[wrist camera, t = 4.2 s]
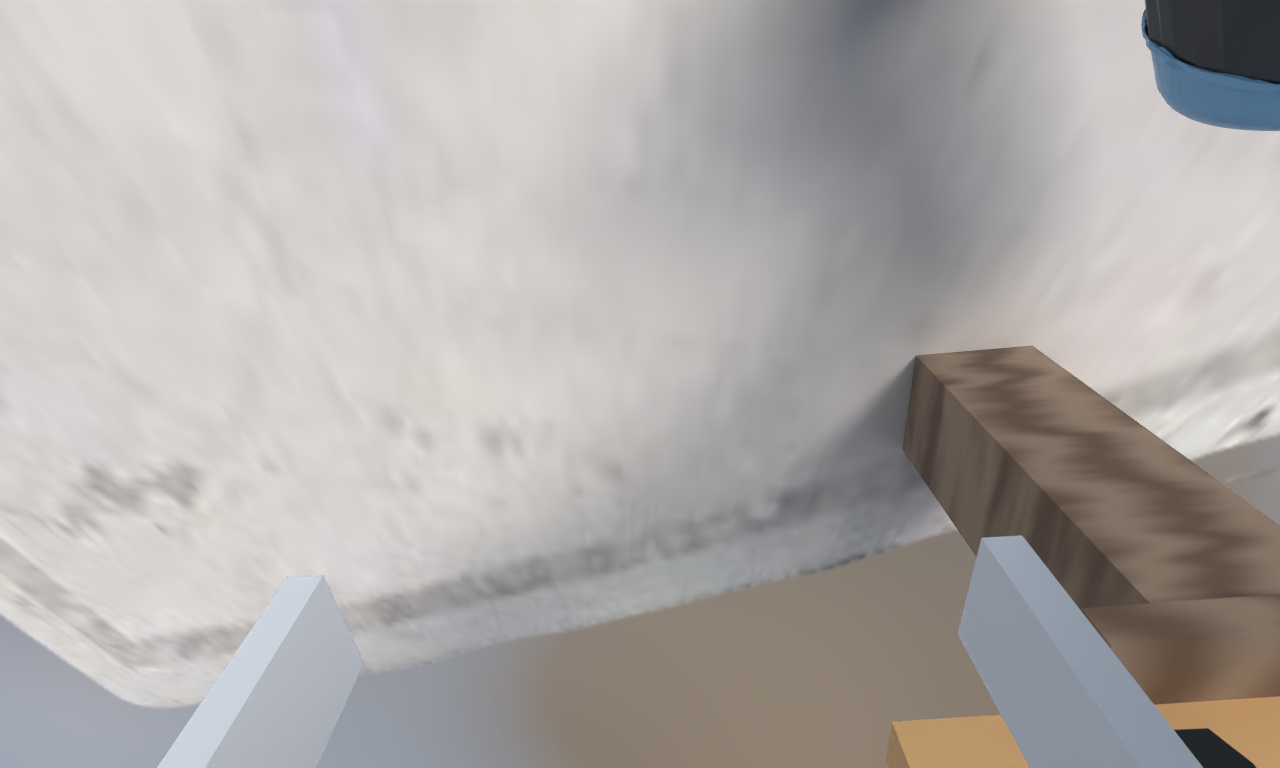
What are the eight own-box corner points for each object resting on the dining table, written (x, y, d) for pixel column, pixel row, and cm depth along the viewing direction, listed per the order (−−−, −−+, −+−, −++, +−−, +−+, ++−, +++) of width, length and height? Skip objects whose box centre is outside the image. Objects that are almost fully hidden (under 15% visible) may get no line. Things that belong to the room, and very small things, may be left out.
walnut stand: (859, 461, 58) (1047, 796, 32) (871, 349, 53) (1111, 645, 26) (1049, 446, 58) (1400, 775, 31) (1082, 331, 52) (1544, 615, 26)
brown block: (885, 758, 30) (914, 838, 27) (892, 721, 29) (923, 801, 26) (1427, 723, 29) (1521, 802, 26) (1462, 684, 28) (1565, 762, 25)
